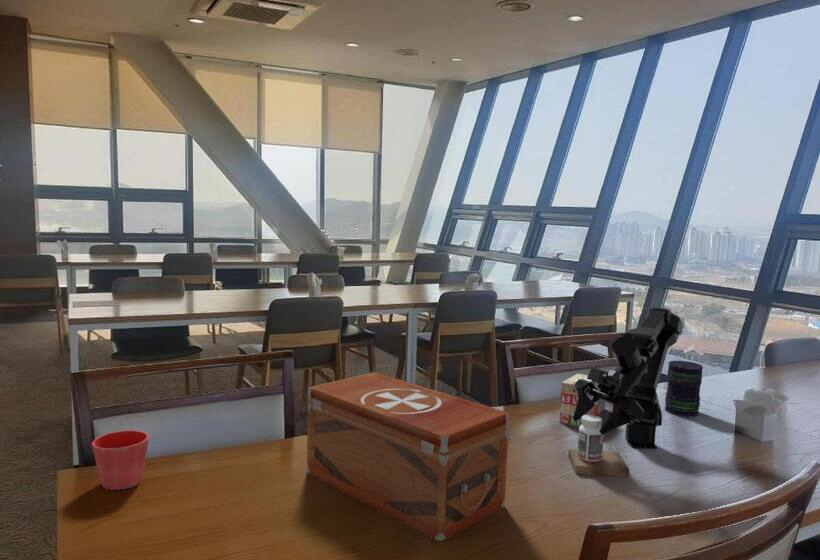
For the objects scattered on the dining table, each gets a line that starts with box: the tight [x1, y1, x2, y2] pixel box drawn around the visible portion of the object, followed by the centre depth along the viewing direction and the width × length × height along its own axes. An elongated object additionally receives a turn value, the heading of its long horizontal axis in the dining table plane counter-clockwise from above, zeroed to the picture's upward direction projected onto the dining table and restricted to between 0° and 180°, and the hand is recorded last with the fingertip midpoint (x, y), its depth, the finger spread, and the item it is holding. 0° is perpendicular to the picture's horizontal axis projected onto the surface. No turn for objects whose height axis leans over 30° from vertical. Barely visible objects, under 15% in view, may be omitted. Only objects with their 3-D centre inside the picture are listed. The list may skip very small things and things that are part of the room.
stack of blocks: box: [559, 373, 606, 428], centre depth 184 cm, size 21×6×12 cm, turn 144°
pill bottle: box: [577, 415, 605, 462], centre depth 147 cm, size 6×6×10 cm
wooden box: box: [306, 371, 510, 542], centre depth 132 cm, size 20×41×20 cm, turn 46°
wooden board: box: [567, 448, 630, 478], centre depth 148 cm, size 12×10×2 cm
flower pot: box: [91, 430, 150, 491], centre depth 131 cm, size 11×11×10 cm
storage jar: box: [664, 360, 703, 418], centre depth 191 cm, size 10×10×15 cm
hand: (587, 426), depth 146 cm, fingers open, 9 cm apart
